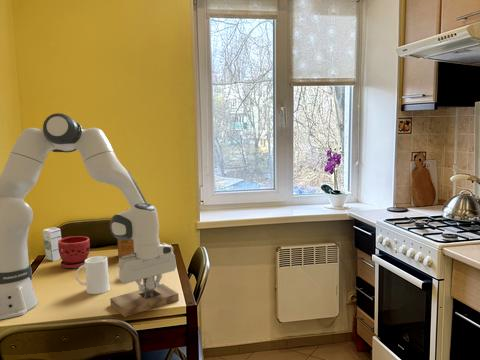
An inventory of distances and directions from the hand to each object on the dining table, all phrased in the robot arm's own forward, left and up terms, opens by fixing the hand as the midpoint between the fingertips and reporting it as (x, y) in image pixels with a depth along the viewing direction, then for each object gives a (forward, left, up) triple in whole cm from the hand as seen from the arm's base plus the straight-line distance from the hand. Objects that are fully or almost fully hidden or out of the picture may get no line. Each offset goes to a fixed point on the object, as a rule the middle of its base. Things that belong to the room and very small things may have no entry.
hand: (149, 288), depth 152 cm
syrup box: (-13, +74, -5) cm, 75 cm away
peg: (0, 0, -3) cm, 3 cm away
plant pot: (-8, +58, -5) cm, 59 cm away
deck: (-2, 0, -5) cm, 5 cm away
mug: (-12, +23, -5) cm, 26 cm away
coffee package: (+15, +53, -5) cm, 55 cm away
